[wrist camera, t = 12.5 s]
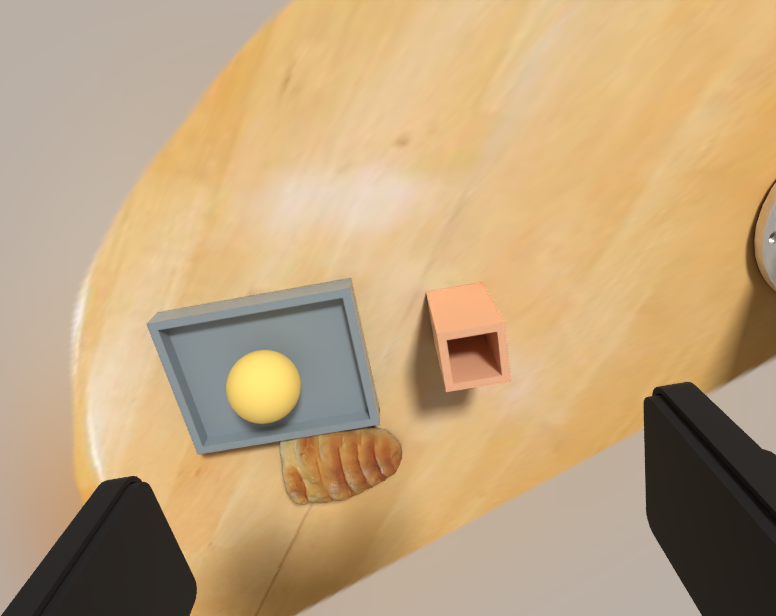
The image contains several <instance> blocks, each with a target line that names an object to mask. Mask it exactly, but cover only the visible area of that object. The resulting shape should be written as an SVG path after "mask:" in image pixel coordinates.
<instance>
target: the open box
mask: <svg viewBox="0 0 776 616" xmlns="http://www.w3.org/2000/svg"><path fill="white" fill-rule="evenodd" d="M426 295H427V301H428V307H429V314H430V320H431V326H432V332H433V338H434V344H435V348H436V352H437V356H438V360H439V365H440V369H441V373H442V377H443V381H444V386H445V390H446V392H450V391H456V390H462V389H468V388H474V387H480V386H486V385H492V384H498V383H505V382H511V376H510V366H509V356H508V346H507V336H506V326H505V321H504V320H503V318H502V316H501V314H500V313H499V311H498V309H497V307H496V306H495V304H494V302H493V300H492V299H491V297H490V295H489V293H488V292H487V290H486V288H485V286H484V285H483V283H482V282H480V283H474V284H469V285H463V286H457V287H452V288H446V289H440V290H435V291H429V292H426Z"/></svg>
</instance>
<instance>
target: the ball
mask: <svg viewBox="0 0 776 616" xmlns="http://www.w3.org/2000/svg"><path fill="white" fill-rule="evenodd" d="M300 392H301V379H300V375H299V372H298V370H297V368H296V366H295V365H294V363H293V362H292V361H291V360H290V359H289V358H288V357H286V356H285V355H283V354H281V353H279V352H276V351H272V350H258V351H254V352H251V353H248V354H247V355H245V356H243V357H242V358H240V359H239V360H238V361H237V362H236V363H235V365H234V366H233V367H232V369H231V371H230V373H229V375H228V378H227V383H226V394H227V398H228V401H229V403H230V405H231V407H232V408H233V410H234V411H235V412H236V413H237V414H238V415H239V416H240V417H242V418H243V419H245V420H247V421H250V422H253V423H259V424H265V423H272V422H275V421H277V420H280V419H282V418H283V417H285V416H286V415H287V414H288V413H290V412H291V410H292V409H293V408H294V407H295V405H296V403H297V401H298V399H299V396H300Z"/></svg>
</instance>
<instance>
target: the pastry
mask: <svg viewBox="0 0 776 616" xmlns="http://www.w3.org/2000/svg"><path fill="white" fill-rule="evenodd" d="M280 456H281V459H282V473H283V476H284V483H285V486H286V491H287V493H288V495H289V496H291V499H292V500H293V501H294V502H295V503H297V504H302V505H304V504H306V503H310V502H315V503H321V502H330V501H333V500H345V499H347V498H349V497H352V496H354V495H356V494H359V493H361V492H363V491H364V490H366V489H369V488H371V487H373V486H374V485H376V484H378V483H380V482H382V481H385V480H386V478H388V477H390V476H391V475H393V474H395V472H396V471H397V469H398V467H399V465H400V462H401V459H402V447H401V444H400V442H399V441H398V440H397V439H396V438H395V437H394V436H393V435H392V434H391V433H390V432H389V431H387V430H384V429H381V428H369V427H363V428H357V429H351V430H344V431H338V432H332V433H326V434H320V435H314V436H308V437H302V438H296V439H290V440H283V441H280Z"/></svg>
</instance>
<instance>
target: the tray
mask: <svg viewBox="0 0 776 616" xmlns="http://www.w3.org/2000/svg"><path fill="white" fill-rule="evenodd" d="M147 327H148V329H149V332H150V334H151V337H152V339H153V342H154V344H155V347H156V350H157V352H158V355H159V357H160V360H161V362H162V365H163V367H164V370H165V372H166V375H167V378H168V380H169V383H170V385H171V388H172V390H173V393H174V395H175V398H176V401H177V403H178V406H179V408H180V411H181V413H182V416H183V418H184V421H185V423H186V426H187V429H188V431H189V434H190V436H191V439H192V441H193V444H194V446H195V449H196V451H197V454H204V453H210V452H216V451H223V450H229V449H235V448H241V447H247V446H253V445H259V444H265V443H271V442H277V441H283V440H290V439H296V438H302V437H308V436H314V435H320V434H326V433H332V432H338V431H344V430H351V429H357V428H363V427H369V426H375V425H380V408H379V404H378V399H377V395H376V390H375V385H374V381H373V376H372V372H371V367H370V363H369V358H368V353H367V349H366V344H365V340H364V335H363V330H362V326H361V321H360V317H359V312H358V308H357V303H356V298H355V294H354V289H353V285H352V280H351V278H348V279H343V280H337V281H332V282H326V283H320V284H315V285H309V286H303V287H298V288H292V289H287V290H281V291H275V292H270V293H264V294H258V295H253V296H247V297H242V298H236V299H230V300H225V301H219V302H213V303H208V304H202V305H197V306H191V307H185V308H180V309H174V310H168V311H163V312H158V313H157V314H156V315H155V316H154V317H153V318H152V319H151V320H150V321H149V322H148V323H147ZM258 350H272V351H276V352H279V353H281V354H283V355H285V356H286V357H288V358H289V359H290V360H291V361H292V362H293V363H294V365H295V366H296V368H297V370H298V372H299V375H300V379H301V392H300V396H299V399H298V401H297V403H296V405H295V407H294V408H293V409H292V410H291V412H290V413H288V414H287V415H286V416H285V417H283V418H282V419H280V420H277V421H275V422H272V423H265V424H259V423H253V422H250V421H247V420H245V419H243V418H242V417H240V416H239V415H238V414H237V413H236V412H235V411H234V410H233V408H232V407H231V405H230V403H229V401H228V398H227V394H226V383H227V378H228V375H229V373H230V371H231V369H232V367H233V366H234V365H235V363H236V362H237V361H238V360H239V359H240V358H242V357H243V356H245V355H247V354H248V353H251V352H254V351H258Z"/></svg>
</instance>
